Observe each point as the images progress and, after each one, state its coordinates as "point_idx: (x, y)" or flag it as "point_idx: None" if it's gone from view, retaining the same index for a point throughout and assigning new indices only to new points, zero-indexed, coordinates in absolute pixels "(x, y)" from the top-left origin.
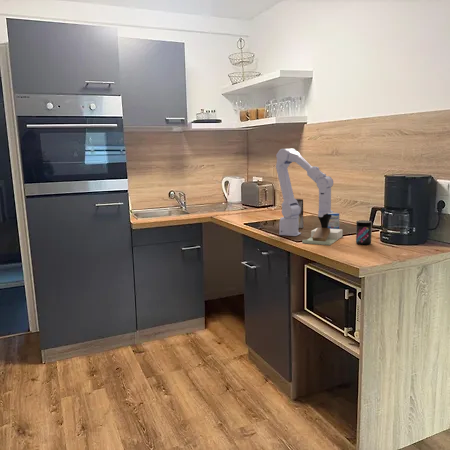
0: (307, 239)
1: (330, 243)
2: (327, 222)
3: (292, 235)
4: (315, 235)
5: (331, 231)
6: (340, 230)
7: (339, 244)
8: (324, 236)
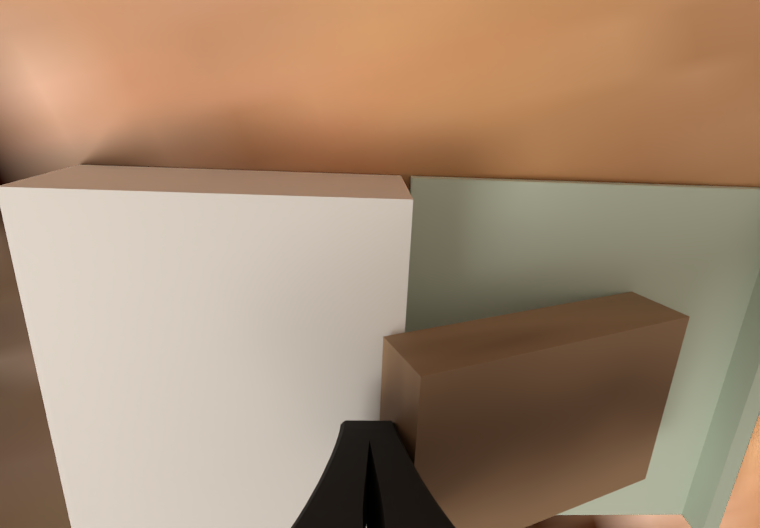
0: None
1: (723, 199)
2: (441, 522)
3: None
4: (613, 469)
5: (308, 331)
6: (134, 200)
7: (702, 67)
8: (650, 342)
